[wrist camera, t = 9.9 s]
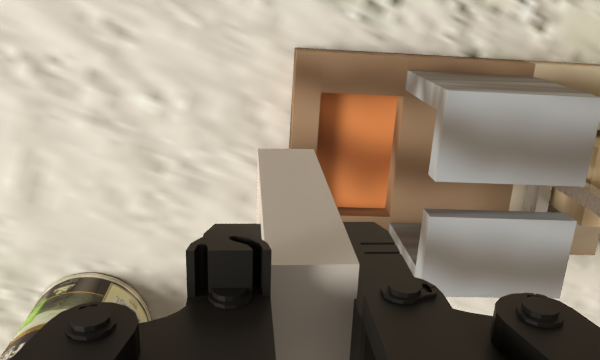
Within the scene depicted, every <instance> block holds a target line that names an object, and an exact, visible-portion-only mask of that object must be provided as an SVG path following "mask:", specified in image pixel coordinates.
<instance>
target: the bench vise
mask: <svg viewBox="0 0 600 360" xmlns="http://www.w3.org/2000/svg"><path fill="white" fill-rule="evenodd" d="M599 120H600V65H597V64H579V63H561V62H543V61H525V60H507V59H489V58H471V57H453V56H435V55H417V54H399V53H381V52H363V51H345V50H327V49H309V48H295V53H294V70H293V88H292V105H291V123H290V141H289V149H314V151H315V154H316V156H317V159H318V161H319V164H320V166H321V169H322V171H323V174H324V176H325V179H326V181H327V184H328V186H329V189H330V191H331V194H332V197H333V199H334V202H335V204H336V207H337V209H338V212H339V214H340V217H341V219H342V222H375V223H377V224H378V225H380V226H381V227H383V228H384V229H386V230H387V231H389V233H390V235H391V237H392V238H393V240H394V242H395V245H396V246H397V247H398V249H399V251H400V254H402V256H403V258H404V260H405V261H406V263H407V265H408V267H409V269H410V270H411V272H412V274H413V276H414V277H416V278H420V279H424V280H425V281H427V282H429V283H431V284H433V285H435V286H436V287H437V288H438V289H439V290H440V291H441V292H442V293H443V294H444V296H445V297H496V298H501V297H503V296H506V295H509V294H514V293H534V294H541V295H545V296H547V297H548V298H560V294H561V290H562V285H563V281H564V276H565V272H566V267H567V263H568V259H569V254H575V255H595V252H596V248H597V244H598V240H599V235H600V227H576V223H577V221H576V220H575V219H573V218H572V217H571V216H569V215H568V214H566V213H558V212H524V211H522V210H523V205H524V199H525V194H526V189H527V185H550V186H579V187H585V183H586V178H587V174H588V169H589V165H590V160H591V156H592V151H593V147H594V143H595V138H596V134H597V129H598V125H599ZM548 206H551V205H550V204H549V205H548Z"/></svg>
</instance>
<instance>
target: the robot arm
mask: <svg viewBox="0 0 600 360" xmlns="http://www.w3.org/2000/svg"><path fill="white" fill-rule="evenodd" d="M186 268H187V303H186V307H184V308H183V309H181V310H180V311H178V312H176V313H174V314H172V315H169V316H167V317H164V318H160V319H157V320H153V321H148V322H143V323H139V321H138V318H137V316H136V313H135V312H134V311H133V310H131V309H130V308H129V307H127V306H125V305H121V304H117V303H113V302H89V303H88V304H87V303H84V304H80V305H77V306H75V307H72V308H70V309H67V310H65V311H62V312H60V313H59V314H58V315H56V316H55V317H53V318H52V319H51V320H49V321H48V322H47V323H46V324H45V325H44V326H43V327H42V328H41V329H40V330H39V331H38V332H37V333H36V334H35V335H34V336H33V337H32V338H31V339H30V340H29V341H28V342H27V343H26V344H25V345H24V346H23V347H22V348H21V349H20V350H19V351H18V352H17V353H16V354H15V355H14V356H13V357H12V358H11V359H10V360H600V327H598V326H597V325H595V324H594V323H592V322H591V321H590V320H588V319H587V318H585V317H584V316H583V315H581V314H580V313H578V312H577V311H575V310H574V309H573V308H571V307H569V306H567V305H565V304H563V303H562V302H560V301H557V300H554V299H551V298H548V297H547V296H545V295H541V294H534V293H514V294H509V295H506V296H503V297H501V298H500V299H499V300H498V301H497V302H496V303H495V309H494V315H493V316H487V315H481V314H475V313H469V312H464V311H460V310H455V309H452V307H451V306H450V304H449V302H448V301H447V299H446V298H445V296H444V294H443V293H442V292H441V291H440V290H439V289H438V288H437V287H436V286H435V285H433V284H431V283H429V282H427V281H425V280H424V279H420V278H416V277H414V276H413V274H412V272H411V270H410V269H409V267H408V265H407V263H406V261H405V260H404V258H403V256H402V254H400V251H399V249H398V247H397V246H396V245H395V242H394V240H393V238H392V237H391V235H390V233H389V231H387V230H386V229H384V228H383V227H381V226H380V225H378V224H377V223H375V222H342V219H341V217H340V214H339V212H338V209H337V207H336V204H335V202H334V199H333V197H332V194H331V191H330V189H329V186H328V184H327V181H326V179H325V176H324V174H323V171H322V169H321V166H320V164H319V161H318V159H317V156H316V154H315V151H314V149H258V163H257V224H214V225H213V226H212V227H211V228H210V229H209V230H208V231H206V232H205V233H204V235H203V237H202V238H200V239H198V240H196V241H194V242H193V243H191V244H190V245H189V247H188V248H187V250H186Z"/></svg>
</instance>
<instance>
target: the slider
mask: <svg viewBox="0 0 600 360" xmlns="http://www.w3.org/2000/svg"><path fill="white" fill-rule="evenodd" d="M597 130H600V120H599V125H598V129H597ZM552 187H554V188H556V189H557V190H559V191H560V192H562V193H563V194H565V195H566V196H568V197H570V198H571V199H573V200H574V201H576V202H577V203H579V204H580V205H582V206H583V207H585V208H587V209H588V210H590V211H591V212H593V213H594V214H596V215H597V216H599V217H600V189H598V188H596V187H594V186H593V185H591V184H589V183H587V182H586V183H585V187H579V186H550V185H527V189H526V194H525V199H524V205H523V210H522V211H524V212H558V213H561V212H560V211H558V210H557V209H555V208H554V207H553V206H548V205H549V200H550V195H551V191H552ZM576 227H581V226H579V225H578V224H577V223H576Z"/></svg>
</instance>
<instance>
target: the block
mask: <svg viewBox="0 0 600 360" xmlns="http://www.w3.org/2000/svg"><path fill="white" fill-rule="evenodd" d="M586 182H587V183H589V184H591V185H593V186H594V187H596V188H598V189H600V130H597V134H596V138H595V143H594V147H593V151H592V156H591V160H590V165H589V169H588V174H587V178H586ZM549 204H550V205H551V206H553V207H554V208H555V209H557V210H558V211H560V212H561V213H566V214H568V215H569V216H571V217H572V218H573V219H575V220H576V221H577V224H578V225H579V226H581V227H600V217H599V216H597V215H596V214H594V213H593V212H591V211H590V210H588V209H587V208H585V207H583V206H582V205H580V204H579V203H577V202H576V201H574V200H573V199H571V198H570V197H568V196H566V195H565V194H563V193H562V192H560V191H559V190H557V189H556V188H554V187H552V191H551V195H550V200H549Z"/></svg>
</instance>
